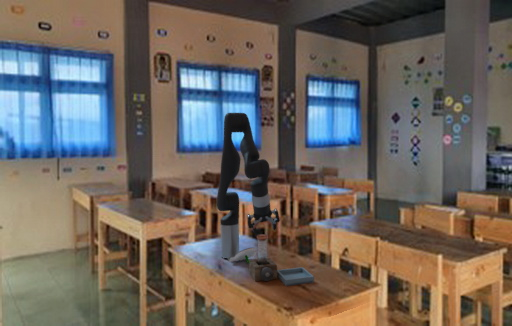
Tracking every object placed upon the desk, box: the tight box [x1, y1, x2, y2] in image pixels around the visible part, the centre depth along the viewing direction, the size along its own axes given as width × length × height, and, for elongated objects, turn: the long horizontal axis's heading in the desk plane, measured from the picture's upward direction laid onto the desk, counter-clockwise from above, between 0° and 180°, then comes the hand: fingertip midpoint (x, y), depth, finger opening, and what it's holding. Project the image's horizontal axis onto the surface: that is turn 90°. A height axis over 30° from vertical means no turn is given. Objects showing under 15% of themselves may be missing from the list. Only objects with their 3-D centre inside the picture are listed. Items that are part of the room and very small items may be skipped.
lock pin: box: [256, 233, 268, 265], centre depth 181 cm, size 5×5×15 cm
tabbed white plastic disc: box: [227, 246, 257, 265], centre depth 200 cm, size 15×8×11 cm
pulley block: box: [248, 257, 278, 282], centre depth 181 cm, size 12×10×6 cm
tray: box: [277, 266, 315, 287], centre depth 177 cm, size 13×13×2 cm
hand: (264, 231), depth 186 cm, fingers open, 8 cm apart
